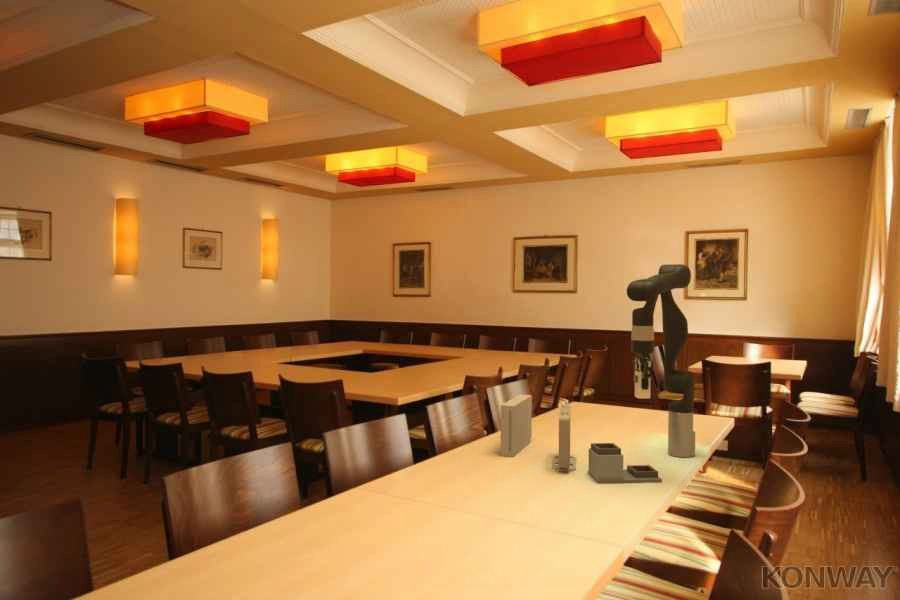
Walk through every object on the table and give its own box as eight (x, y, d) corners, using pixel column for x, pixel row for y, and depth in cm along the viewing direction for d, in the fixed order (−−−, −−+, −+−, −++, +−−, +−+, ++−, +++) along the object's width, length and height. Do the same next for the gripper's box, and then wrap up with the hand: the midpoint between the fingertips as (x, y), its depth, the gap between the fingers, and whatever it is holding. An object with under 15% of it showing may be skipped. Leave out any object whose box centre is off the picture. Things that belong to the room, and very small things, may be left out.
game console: (499, 456, 243) (499, 405, 243) (518, 440, 268) (518, 394, 268) (513, 457, 241) (513, 406, 240) (531, 441, 266) (531, 395, 266)
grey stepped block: (648, 471, 222) (648, 441, 222) (662, 482, 210) (662, 449, 210) (587, 472, 220) (587, 441, 220) (597, 483, 208) (598, 450, 208)
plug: (645, 396, 217) (646, 370, 217) (650, 398, 213) (650, 372, 213) (632, 396, 217) (632, 370, 217) (636, 398, 213) (636, 372, 213)
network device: (575, 474, 219) (576, 417, 218) (550, 472, 220) (551, 416, 220) (576, 455, 244) (576, 404, 243) (553, 454, 245) (553, 403, 245)
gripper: (661, 340, 208) (661, 391, 208) (645, 337, 222) (645, 385, 222) (639, 340, 207) (639, 392, 208) (625, 337, 222) (624, 385, 222)
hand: (642, 388), depth 215 cm, fingers closed on plug, 4 cm apart
